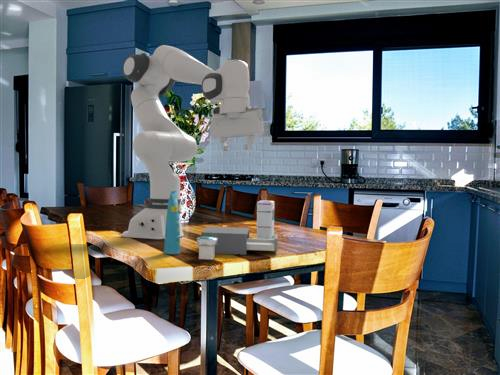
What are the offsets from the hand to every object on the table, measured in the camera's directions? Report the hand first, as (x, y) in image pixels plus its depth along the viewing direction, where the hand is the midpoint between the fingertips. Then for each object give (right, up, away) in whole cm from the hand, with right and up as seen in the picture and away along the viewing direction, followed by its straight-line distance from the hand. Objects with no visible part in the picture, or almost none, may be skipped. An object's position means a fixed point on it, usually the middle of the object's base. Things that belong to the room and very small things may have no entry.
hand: (236, 150), depth 151 cm
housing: (-3, -32, -4) cm, 33 cm away
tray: (+7, -31, -5) cm, 32 cm away
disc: (-8, -29, -18) cm, 35 cm away
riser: (-8, -33, -18) cm, 38 cm away
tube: (-19, -32, -12) cm, 39 cm away
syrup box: (+10, -32, +19) cm, 38 cm away
